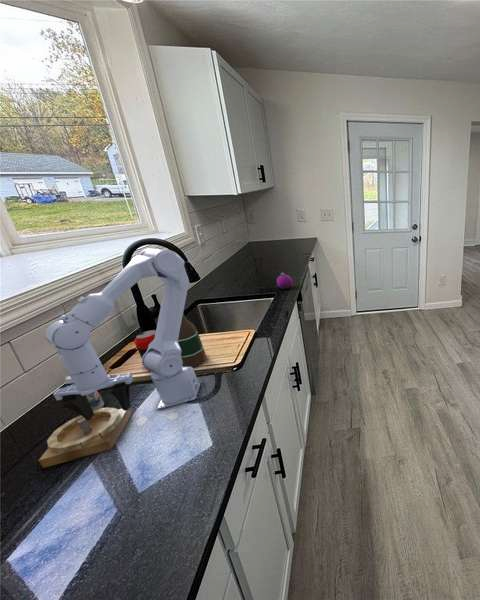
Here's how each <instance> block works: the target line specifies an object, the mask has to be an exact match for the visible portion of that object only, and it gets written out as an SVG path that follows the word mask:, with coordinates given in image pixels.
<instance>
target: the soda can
mask: <svg viewBox="0 0 480 600" xmlns="http://www.w3.org/2000/svg"><path fill="white" fill-rule="evenodd" d="M155 333H156V329H152V330H146V331H143V332H141V333H139V334H137V335H136V336H135V339H134V342H133V343H134V345H135V347H136V349H137V351H138V353H139V357H140V358H141V359H142V357H143V355H144V354H145V353H146V351H147V350H148V346H149V344H150V343H151V342H152V341H153V340H154V339H155Z"/></svg>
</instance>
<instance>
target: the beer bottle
mask: <svg viewBox="0 0 480 600" xmlns="http://www.w3.org/2000/svg"><path fill="white" fill-rule="evenodd" d="M178 344H179V346H180V348H181V358H182V361H183V365H182V367H192V368H194V367H198V366H200V365H201V364H203V363H205V362H206V359H207V355H206V352H205V351H206V350H205V348H204V346H203V343H202V339H201V337H200V335H199V331H198V329H197V327H196V326H195V324H194V323H193V322H191V321H190V320H188V319H187V317H186V315H185V314H184V312H183V316H182V321H181V326H180V331H179V337H178Z"/></svg>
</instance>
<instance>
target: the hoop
mask: <svg viewBox="0 0 480 600" xmlns="http://www.w3.org/2000/svg"><path fill="white" fill-rule="evenodd" d="M118 410H119V409H118V408H116V407H108V406H107V407H102V408H101V409H97V410H93V412H94V415H93V417H92V418H91V419H94V418H98V417H102V416H108V417H111V418H110V420H109V421H108V423H107V424H106V425H104V426H103V427H102V428H100V429H99V430H98V431H96V432H94V433H92V434H90V435H88V436H86V437H84V438H82V439H79V440H76V441H72V442H68V443H63V442H59V441H60V440H61V439H62V438H63V436H64V435H65V434H66V433H67V432H69V431H70V430H72V429H73V428H75V427H76V426H77V425H78V423H77V421H78V420H80V419H82V418H84V417H82V416H81V415H80V414H79V415H77V416H76V417H73V418H72V419H70V420H68V421H67V422H65V423H64V424H62V425H61V426H59V427H58V428H56V429H55V430H54V431H53V432H52V434H51V435H50V436H49V437H48V438H47V440H46V443H47V448H49V449H50V450H51V452H55V453H67V452H71V451H74V450H78V449H82V448H83V447H86V446H88V445H90V444H92V443H94V442H96V441H98V440H100V439H101V438H103V437H105V436H106V435H107V434H109V433H110V432H111V431H112V430H114V429H115V428H116V427H117V425H118V424H119V422H120V421H121V419H122V417H121V415H120V413H119V412H118ZM87 421H88V420H87Z"/></svg>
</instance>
